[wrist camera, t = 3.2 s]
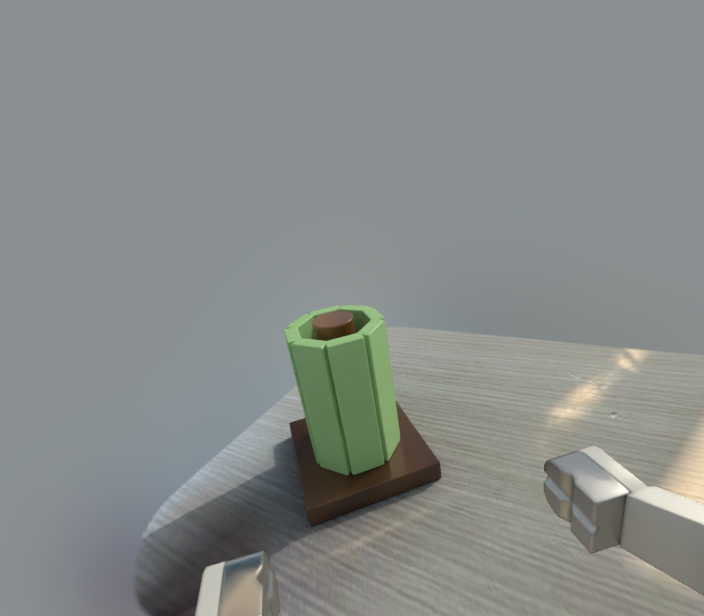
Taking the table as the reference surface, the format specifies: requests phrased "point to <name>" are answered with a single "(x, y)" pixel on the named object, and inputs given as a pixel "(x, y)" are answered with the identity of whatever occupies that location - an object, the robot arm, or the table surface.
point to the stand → (369, 486)
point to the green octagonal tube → (346, 391)
